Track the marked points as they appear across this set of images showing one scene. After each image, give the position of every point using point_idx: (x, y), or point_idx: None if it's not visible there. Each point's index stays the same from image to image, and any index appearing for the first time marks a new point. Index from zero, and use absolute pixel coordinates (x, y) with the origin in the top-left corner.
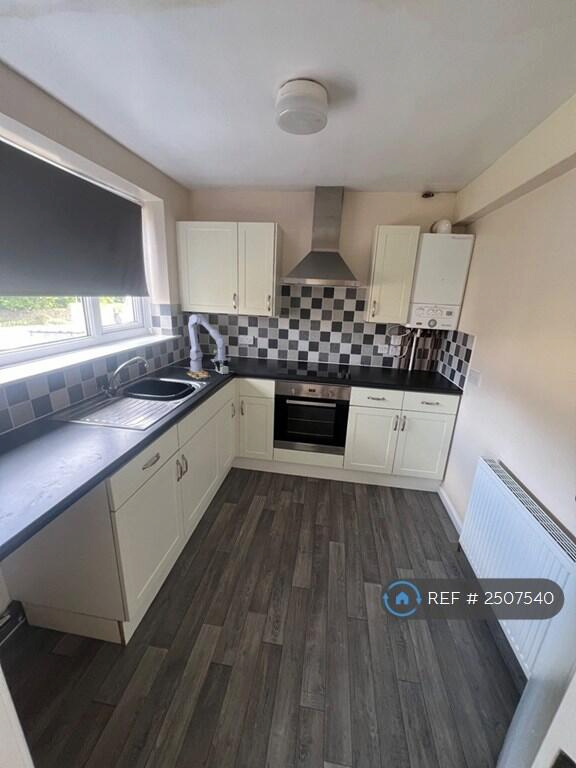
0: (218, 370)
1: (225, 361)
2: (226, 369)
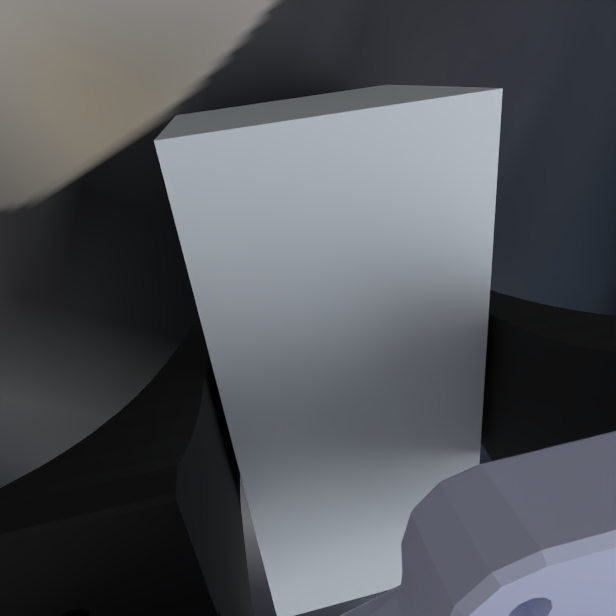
0: None
1: (217, 599)
2: (255, 114)
